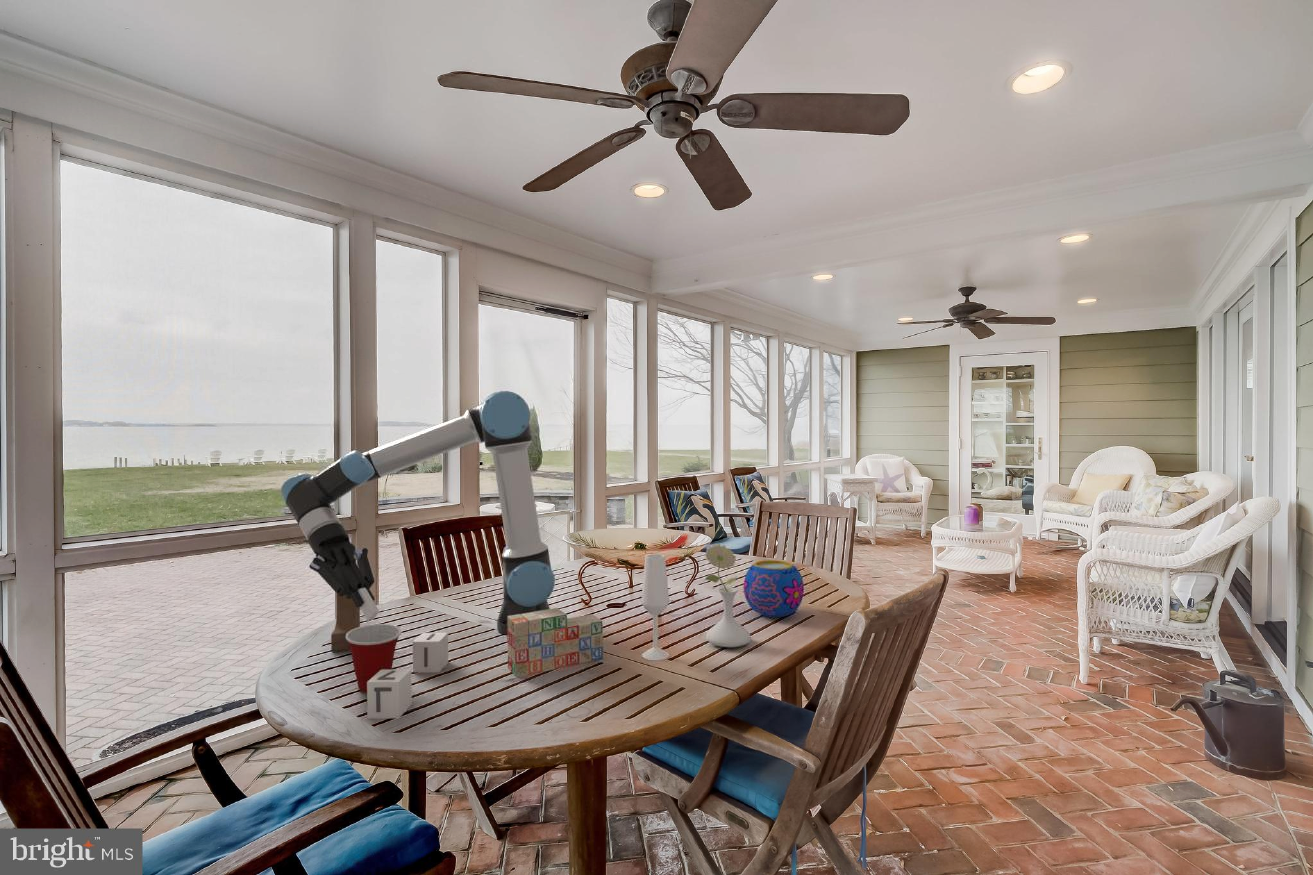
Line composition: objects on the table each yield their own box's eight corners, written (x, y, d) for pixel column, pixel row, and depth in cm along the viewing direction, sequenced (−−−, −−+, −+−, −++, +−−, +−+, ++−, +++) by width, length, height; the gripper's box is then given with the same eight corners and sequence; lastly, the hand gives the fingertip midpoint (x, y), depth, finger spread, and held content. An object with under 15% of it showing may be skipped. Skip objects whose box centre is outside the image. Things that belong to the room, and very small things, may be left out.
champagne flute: (655, 648, 151) (655, 552, 151) (675, 654, 147) (674, 556, 146) (636, 655, 147) (635, 556, 146) (655, 662, 142) (654, 560, 142)
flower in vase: (759, 642, 155) (759, 545, 154) (733, 655, 146) (732, 551, 146) (718, 631, 163) (718, 539, 163) (691, 642, 155) (691, 545, 155)
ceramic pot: (812, 611, 181) (812, 561, 181) (793, 628, 166) (792, 573, 166) (756, 603, 190) (756, 555, 190) (734, 618, 175) (733, 566, 175)
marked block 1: (448, 662, 143) (448, 631, 143) (439, 672, 137) (438, 641, 137) (422, 662, 143) (422, 632, 143) (412, 672, 137) (412, 641, 137)
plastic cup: (365, 703, 122) (364, 643, 121) (335, 690, 127) (334, 634, 127) (412, 683, 131) (412, 628, 131) (382, 673, 136) (382, 620, 136)
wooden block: (350, 650, 151) (349, 578, 151) (330, 652, 150) (330, 579, 150) (360, 638, 160) (359, 570, 160) (341, 639, 159) (341, 571, 159)
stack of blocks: (593, 651, 150) (592, 601, 150) (603, 659, 144) (603, 608, 144) (507, 668, 139) (506, 615, 139) (515, 678, 134) (514, 622, 134)
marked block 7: (411, 704, 121) (411, 668, 121) (398, 718, 115) (398, 681, 115) (381, 704, 121) (381, 668, 121) (367, 719, 115) (366, 681, 115)
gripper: (344, 538, 144) (392, 618, 136) (288, 548, 133) (337, 635, 125) (358, 517, 141) (407, 597, 133) (302, 525, 130) (352, 613, 122)
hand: (373, 616), depth 129 cm, fingers closed
